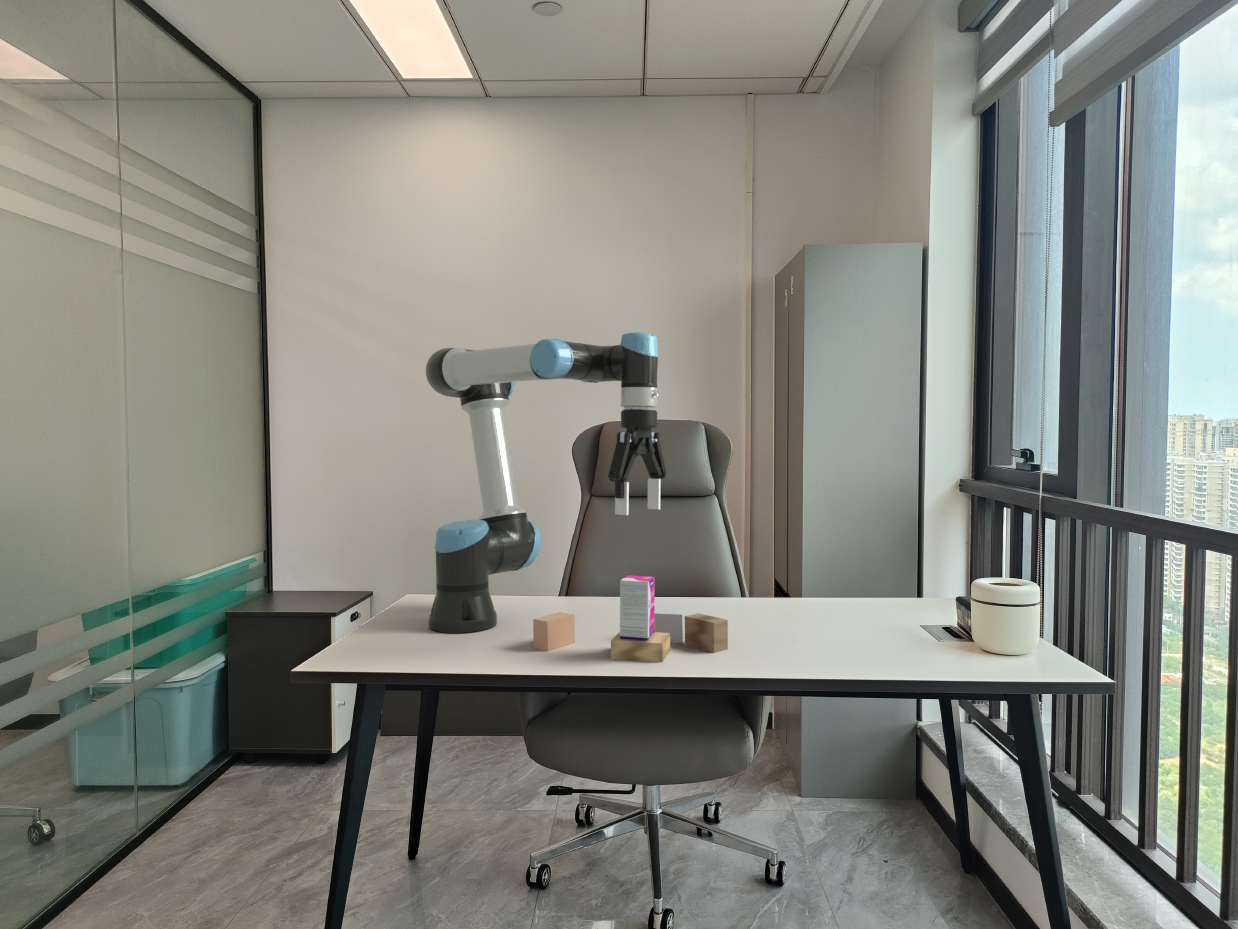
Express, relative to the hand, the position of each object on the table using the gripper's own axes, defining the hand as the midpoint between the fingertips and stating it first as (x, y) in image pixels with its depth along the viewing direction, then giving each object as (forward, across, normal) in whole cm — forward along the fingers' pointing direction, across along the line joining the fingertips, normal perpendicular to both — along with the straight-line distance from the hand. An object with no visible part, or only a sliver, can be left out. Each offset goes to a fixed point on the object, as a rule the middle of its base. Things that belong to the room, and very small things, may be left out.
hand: (638, 511), depth 161 cm
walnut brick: (+27, +2, -15) cm, 31 cm away
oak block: (+27, -9, -6) cm, 29 cm away
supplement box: (+23, -10, -5) cm, 26 cm away
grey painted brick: (+27, +3, -5) cm, 27 cm away
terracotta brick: (+27, -12, +13) cm, 32 cm away
